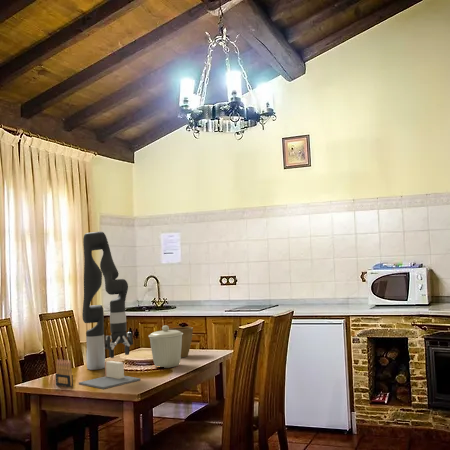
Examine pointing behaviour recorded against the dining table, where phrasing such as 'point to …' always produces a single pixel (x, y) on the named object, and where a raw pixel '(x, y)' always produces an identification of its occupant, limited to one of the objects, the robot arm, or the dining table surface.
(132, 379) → the rubber mat
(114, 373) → the cream block
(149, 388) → the dining table surface
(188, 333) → the plant pot
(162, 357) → the canister
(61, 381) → the ammunition clip
